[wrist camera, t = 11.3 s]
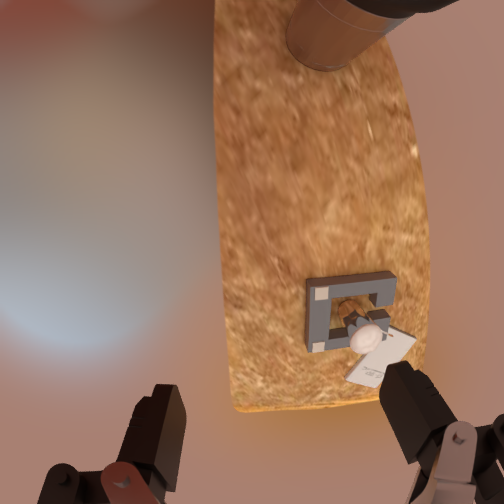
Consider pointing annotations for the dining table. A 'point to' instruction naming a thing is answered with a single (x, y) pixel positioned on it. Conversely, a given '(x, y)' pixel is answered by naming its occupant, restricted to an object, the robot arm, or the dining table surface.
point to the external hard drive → (380, 358)
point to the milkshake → (360, 328)
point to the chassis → (343, 286)
